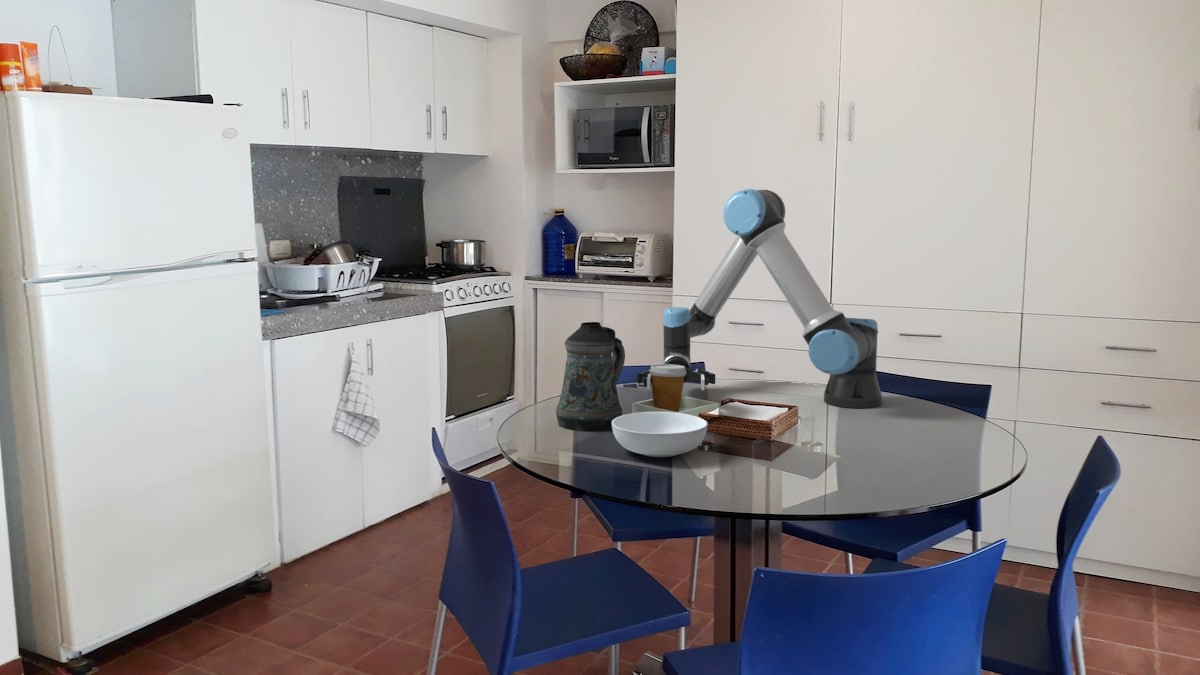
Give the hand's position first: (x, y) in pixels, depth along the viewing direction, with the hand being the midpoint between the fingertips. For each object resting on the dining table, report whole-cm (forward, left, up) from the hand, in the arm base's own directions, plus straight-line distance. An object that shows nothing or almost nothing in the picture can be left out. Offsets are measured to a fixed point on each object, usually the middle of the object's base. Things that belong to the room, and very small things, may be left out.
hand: (675, 384), depth 222 cm
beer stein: (+13, +17, -9) cm, 23 cm away
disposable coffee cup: (+5, -1, -8) cm, 10 cm away
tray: (+2, -2, -9) cm, 10 cm away
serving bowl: (-18, +24, -9) cm, 31 cm away
